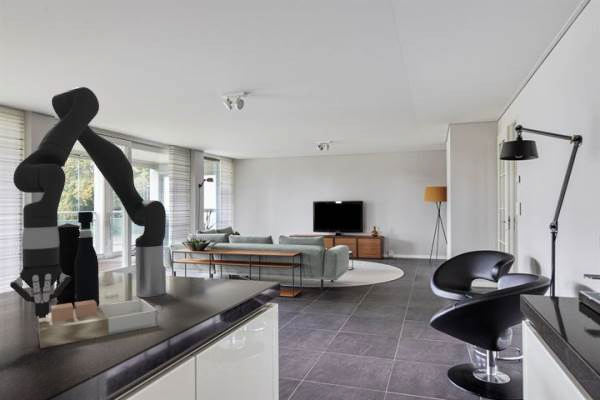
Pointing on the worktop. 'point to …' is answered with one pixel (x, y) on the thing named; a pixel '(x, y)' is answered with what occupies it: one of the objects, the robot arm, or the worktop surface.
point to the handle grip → (68, 260)
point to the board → (72, 329)
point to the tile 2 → (85, 308)
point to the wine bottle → (86, 263)
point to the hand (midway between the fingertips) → (42, 317)
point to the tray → (129, 316)
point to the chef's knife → (158, 308)
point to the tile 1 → (61, 312)
